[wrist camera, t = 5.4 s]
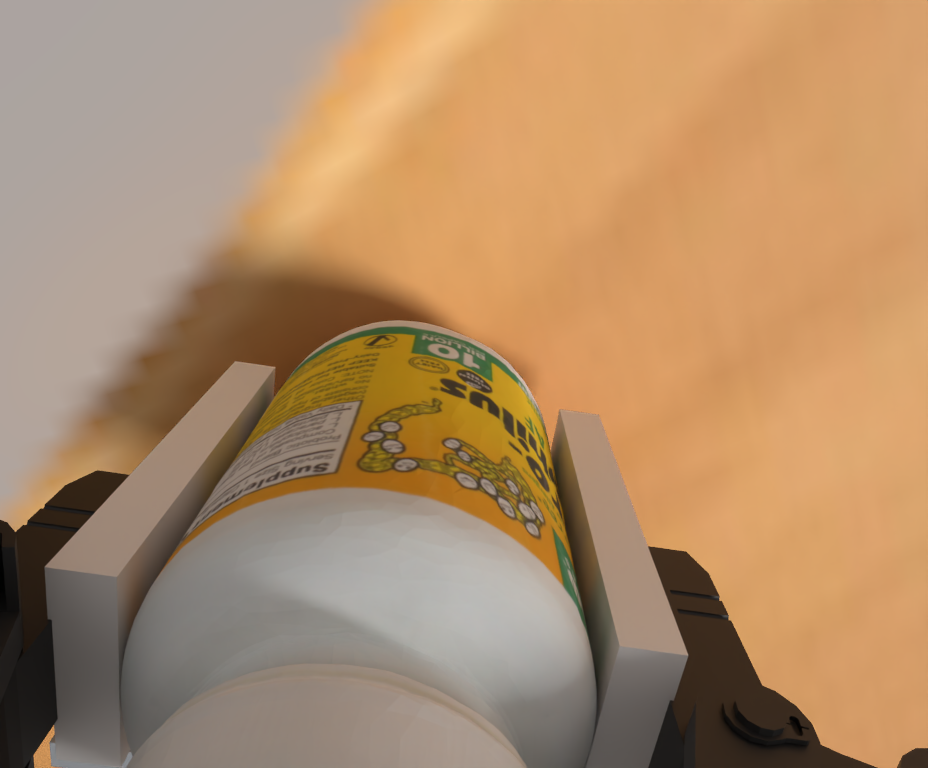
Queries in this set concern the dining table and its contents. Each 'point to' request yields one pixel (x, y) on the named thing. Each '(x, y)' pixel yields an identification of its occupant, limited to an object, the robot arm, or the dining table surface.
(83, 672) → the robot arm
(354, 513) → the supplement bottle
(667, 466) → the dining table surface
